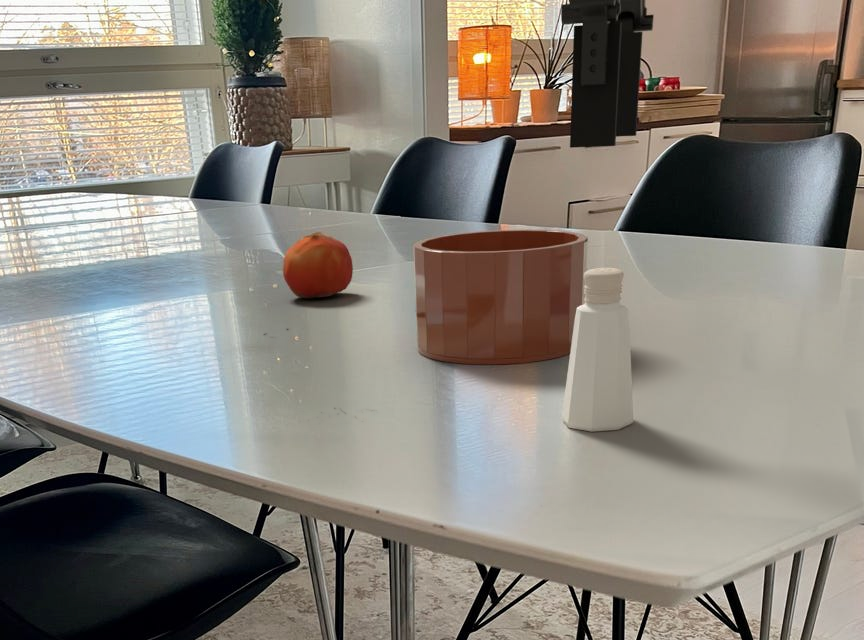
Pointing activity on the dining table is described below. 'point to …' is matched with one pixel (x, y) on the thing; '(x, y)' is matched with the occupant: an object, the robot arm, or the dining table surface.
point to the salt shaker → (600, 358)
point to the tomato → (317, 266)
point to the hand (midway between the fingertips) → (605, 141)
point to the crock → (498, 295)
